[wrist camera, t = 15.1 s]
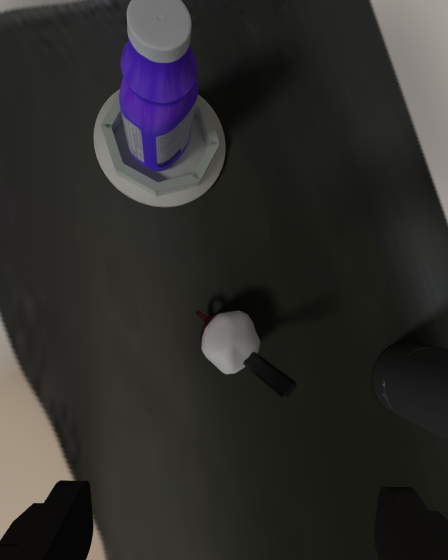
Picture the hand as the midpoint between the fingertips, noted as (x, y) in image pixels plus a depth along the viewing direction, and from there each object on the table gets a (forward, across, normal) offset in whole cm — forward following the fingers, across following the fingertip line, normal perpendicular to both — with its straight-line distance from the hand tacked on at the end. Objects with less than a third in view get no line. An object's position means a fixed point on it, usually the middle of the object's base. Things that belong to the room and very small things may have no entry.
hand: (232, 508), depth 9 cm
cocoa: (+29, 0, +7) cm, 30 cm away
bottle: (+33, +8, -15) cm, 37 cm away
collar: (+33, +8, -16) cm, 37 cm away
